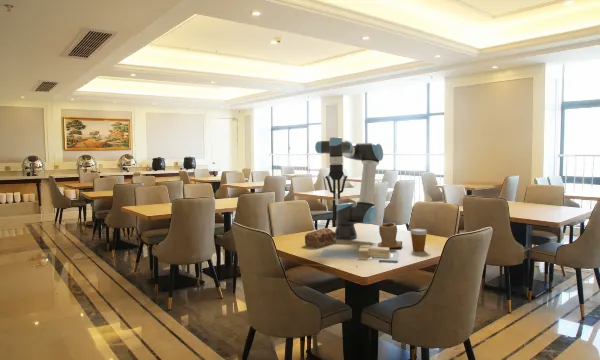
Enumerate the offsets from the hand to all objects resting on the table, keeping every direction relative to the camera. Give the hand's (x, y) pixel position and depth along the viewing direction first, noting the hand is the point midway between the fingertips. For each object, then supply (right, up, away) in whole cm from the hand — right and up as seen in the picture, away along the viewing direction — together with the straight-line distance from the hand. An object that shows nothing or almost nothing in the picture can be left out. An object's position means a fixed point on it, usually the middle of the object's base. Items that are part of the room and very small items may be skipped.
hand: (336, 204), depth 251 cm
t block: (+19, -27, -14) cm, 36 cm away
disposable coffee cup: (+48, -27, +1) cm, 55 cm away
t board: (+11, -28, -12) cm, 32 cm away
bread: (-9, -27, +16) cm, 32 cm away
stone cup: (+33, -27, +8) cm, 43 cm away
